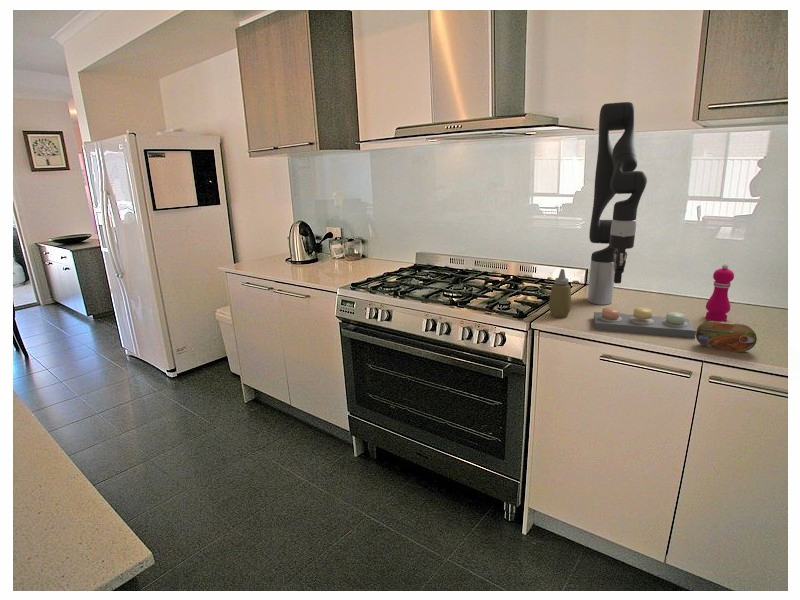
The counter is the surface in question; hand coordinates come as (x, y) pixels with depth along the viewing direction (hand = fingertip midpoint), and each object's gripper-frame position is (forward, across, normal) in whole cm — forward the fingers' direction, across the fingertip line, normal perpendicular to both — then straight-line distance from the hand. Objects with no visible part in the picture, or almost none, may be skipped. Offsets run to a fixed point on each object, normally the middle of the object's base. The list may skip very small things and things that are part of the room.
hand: (617, 282), depth 159 cm
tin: (+15, +15, +30) cm, 37 cm away
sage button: (+12, +2, +19) cm, 22 cm away
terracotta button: (+12, +2, -1) cm, 12 cm away
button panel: (+15, +2, +9) cm, 18 cm away
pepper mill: (+16, -14, +35) cm, 41 cm away
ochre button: (+11, +2, +9) cm, 14 cm away
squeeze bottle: (+16, -4, -18) cm, 24 cm away
